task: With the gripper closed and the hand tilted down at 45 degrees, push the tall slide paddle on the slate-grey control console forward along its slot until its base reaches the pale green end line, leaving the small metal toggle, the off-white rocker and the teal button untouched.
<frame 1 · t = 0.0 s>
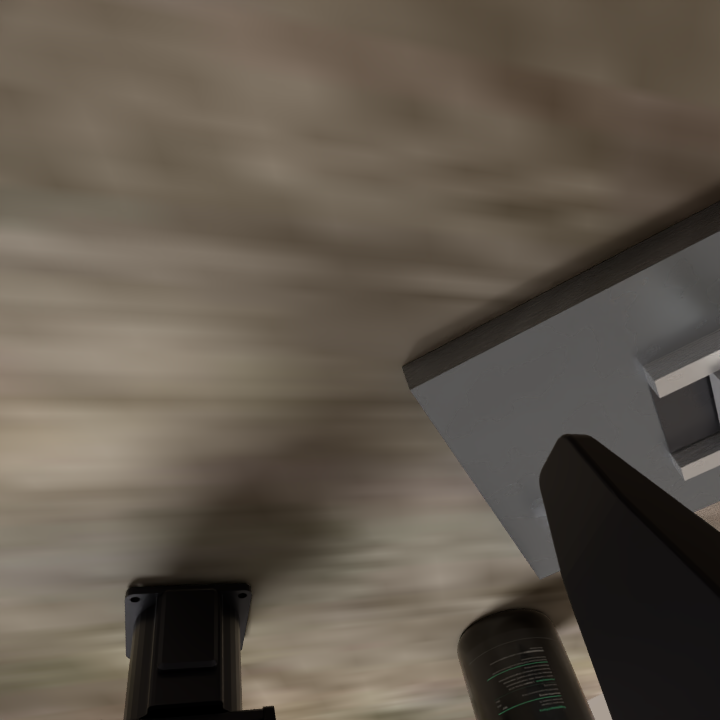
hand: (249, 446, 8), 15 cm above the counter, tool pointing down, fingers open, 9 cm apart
console: (702, 370, 31), on the counter
supplement bottle: (502, 631, 44), on the counter
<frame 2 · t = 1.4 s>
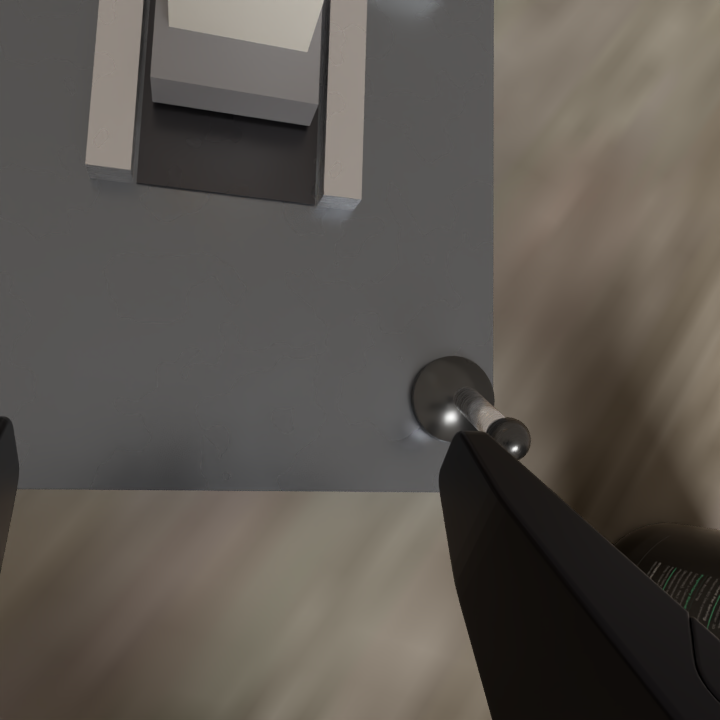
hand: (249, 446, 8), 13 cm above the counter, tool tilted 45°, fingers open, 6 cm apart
toggle lever: (495, 428, 18), point 5 cm above the counter, hinge at -25.0°
console: (230, 125, 22), on the counter
supplement bottle: (655, 612, 24), on the counter
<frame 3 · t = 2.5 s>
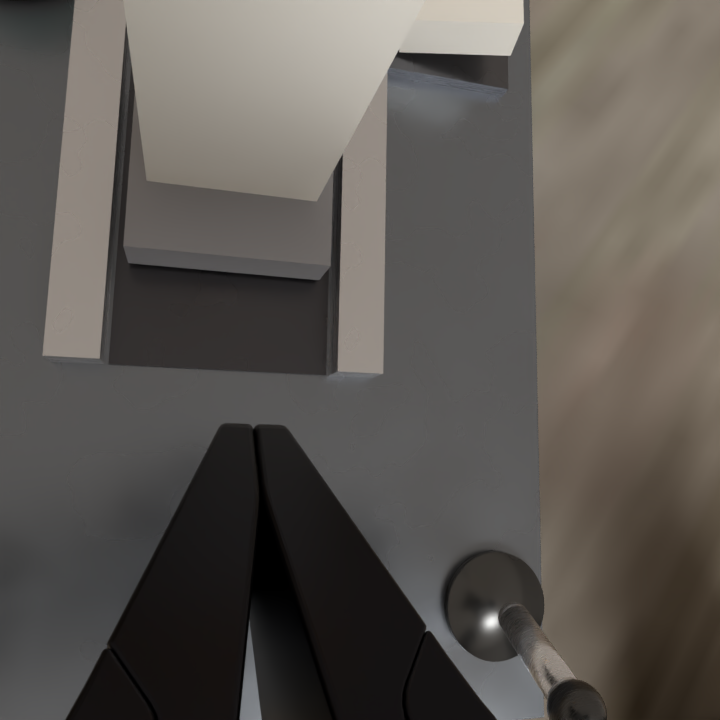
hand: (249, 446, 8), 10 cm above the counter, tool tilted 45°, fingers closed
toggle lever: (558, 683, 14), point 5 cm above the counter, hinge at -25.0°
console: (223, 271, 18), on the counter
slide paddle: (255, 53, 12), point 7 cm above the counter, slide at 0.0 cm
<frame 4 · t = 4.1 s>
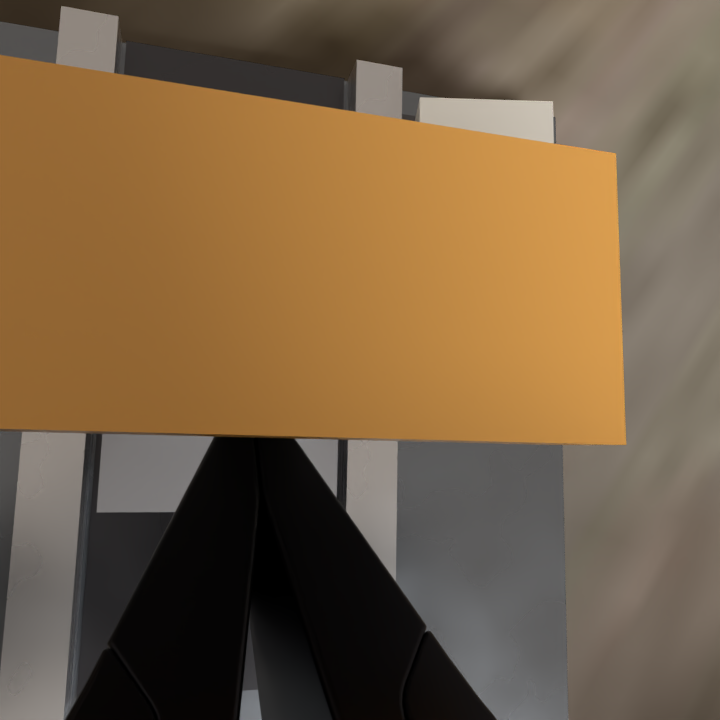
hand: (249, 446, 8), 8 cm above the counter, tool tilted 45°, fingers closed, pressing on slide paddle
rocker switch: (480, 198, 16), point 3 cm above the counter, hinge at -14.0°
console: (212, 542, 16), on the counter
slide paddle: (247, 366, 10), point 7 cm above the counter, slide at 1.6 cm, touching gripper
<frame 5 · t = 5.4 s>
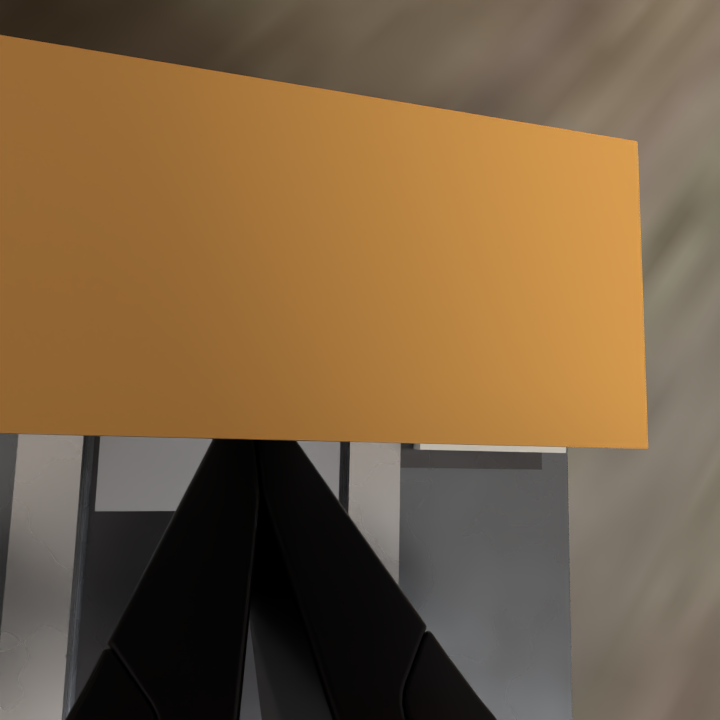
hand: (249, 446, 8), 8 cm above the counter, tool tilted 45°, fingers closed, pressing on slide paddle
rocker switch: (486, 355, 15), point 3 cm above the counter, hinge at -14.0°
console: (203, 712, 15), on the counter
slide paddle: (248, 363, 9), point 7 cm above the counter, slide at 5.5 cm, touching gripper
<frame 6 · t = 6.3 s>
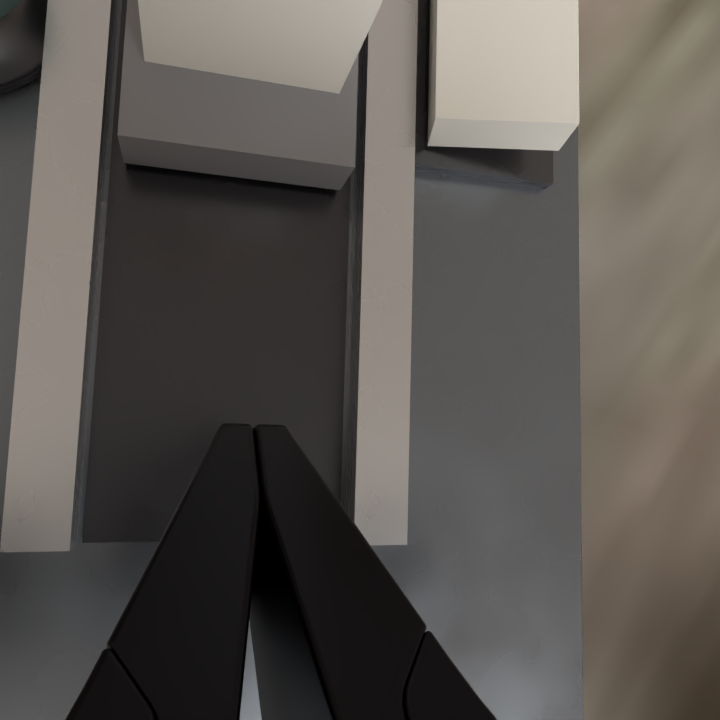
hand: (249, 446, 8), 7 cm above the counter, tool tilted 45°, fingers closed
rocker switch: (500, 46, 15), point 3 cm above the counter, hinge at -14.0°
console: (220, 403, 16), on the counter
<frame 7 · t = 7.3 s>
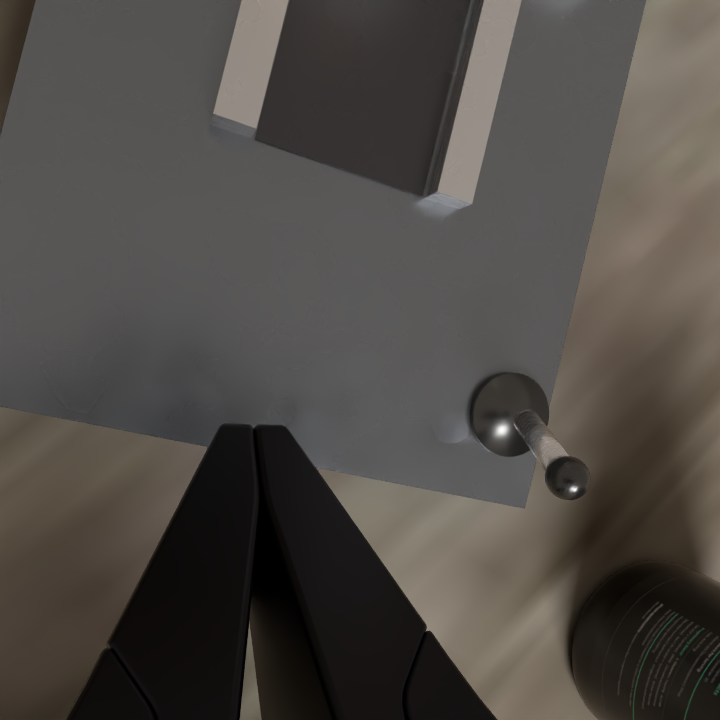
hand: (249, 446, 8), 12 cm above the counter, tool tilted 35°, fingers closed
toggle lever: (555, 461, 19), point 5 cm above the counter, hinge at -25.0°
console: (351, 91, 21), on the counter
supplement bottle: (635, 637, 26), on the counter
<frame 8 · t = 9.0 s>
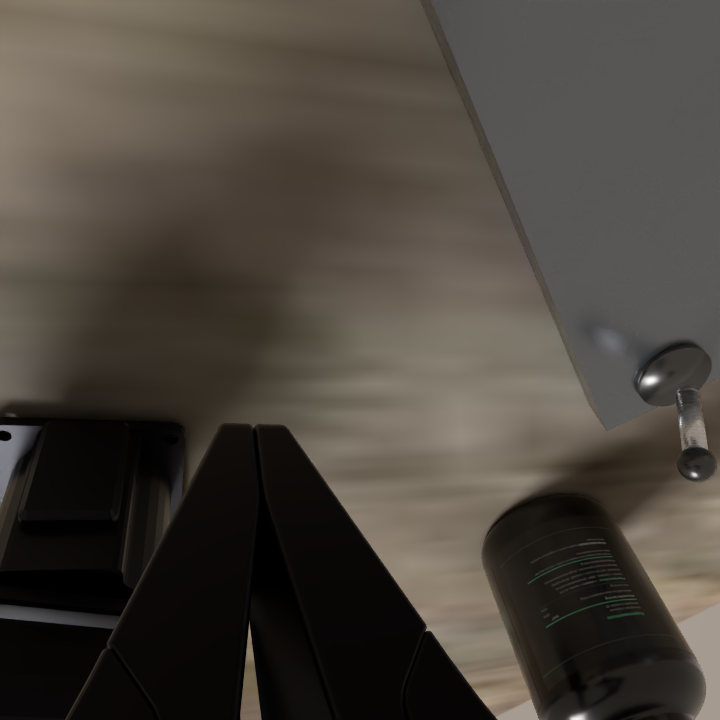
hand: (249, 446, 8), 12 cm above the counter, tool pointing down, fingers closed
toggle lever: (694, 445, 22), point 5 cm above the counter, hinge at -25.0°
supplement bottle: (542, 531, 33), on the counter
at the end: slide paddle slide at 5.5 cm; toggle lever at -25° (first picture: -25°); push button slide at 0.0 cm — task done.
